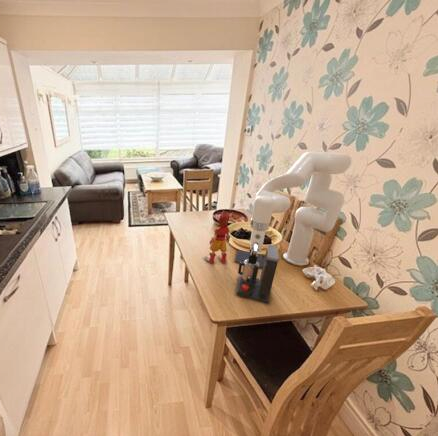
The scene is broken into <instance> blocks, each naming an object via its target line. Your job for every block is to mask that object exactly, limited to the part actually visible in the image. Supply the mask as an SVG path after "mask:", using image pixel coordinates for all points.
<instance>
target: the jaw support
mask: <svg viewBox="0 0 438 436" xmlns="http://www.w3.org/2000/svg"><path fill="white" fill-rule="evenodd" d="M326 270H327V269H326V268H323V267H320V266H318V265H316V264H314V265H313V266H310V267H306V268H303V269H301V271H302V272H303V274H304V275H305V276H306V277H307V278H312V279H315V280H313V282H312V283H311V284H310V285H311V287H313V288H314V289H315V290H316V291H318V288H319V287H320V288H321V289H322V290H324V291H326V290H327V289H329V288H330V287H333V286H334V285H335V284H336V279H334V278H333V276H332V274H329V273H328V272H327V271H326Z"/></svg>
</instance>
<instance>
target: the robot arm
mask: <svg viewBox="0 0 438 436" xmlns="http://www.w3.org/2000/svg"><path fill="white" fill-rule="evenodd" d="M351 165H352V157H351V156H350V155H349V154H347V153H338V152H332V151H331V152H330V151H322V150H315V151H314V150H311V151H307V152H306V151H305V152H304V153H303V154H301V156H300V157H299V158H298V159H297V160H296V162H295V163H294V164H293V165H292V167H291V168H289V170H288V171H287V172H286V173H284V174H280V175H277V176H276V177H274V178H271V179H270V180H268V181H266V182H265V183H264V184H263V185H262V187H260V188H259V190H258V191H257V193H256V194H255V197H254V202H253V208H252V213H251V218H250V222H249V227H250V228H251V234H250V241H249V251H248V252H251V254H250V256H249V260H248V263H252V264H256V261H257V257H258V256H257V254H259V253H261V252H262V251H263V245H264V241H265V236H266V231H268V230H269V228H270V226H271V220H272V215H273V214H281V213H286V212H287V211H288V210H289V209H290V207H291V203H292V202H291V199H290V198H289V197H288V196H286V195H283V194H279V193H277V192H276V191H279V190H282V189H291V188H299V187H302V186H304V184H306V183H307V181H308V180H310V181H309V184H308V186H307V190H306V193H305V195H304V202H305V204H307V205H309V206H301V207H299V208H298V209H296V211H295V214H294V227H293V230H292V234H291V238H290V241H289V244H288V245H289V246H288V248H287V252H284V253H283V254H282V257H283V259H284V260H285V261H286V262H287V263H289V264H291V265H295V266H302V267H303V266H308V265H309V263H310V260H309V258H308V256H309V255H308V254H309V251H310V249H311V245H312V242H313V239H314V236H315V231H314V229H315V230H318V231H321V232H325V233H327V232H331V231H332V230H333V229H334V227H335V225H336V223H337V220H338V217H339V215H340V212H341V210H342V209H343V208H342V207H343V205H344V202H345V201H344V200H345V196H344V194H343V193H342V192H340V191H338V190H333V189H330V187H331V183H332V181H333V175H341V174H343V173H346V172H347V171H348V170H349V169H350V167H351ZM311 206H312V207H311ZM314 207H316V208H314ZM318 208H320V209H321V210H320V209H318ZM324 210H325V211H324Z"/></svg>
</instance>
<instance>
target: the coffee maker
mask: <svg viewBox="0 0 438 436" xmlns="http://www.w3.org/2000/svg"><path fill="white" fill-rule="evenodd" d="M257 280H258V281H257V283H256V284H253V285H251V284H246V283H244V282H243V281H241V279H240V277H239V278H238V285H237V291H236V296H238V297H241V298H245V299H249V300H253V301H257V302H259V303H260V302H261V303H263V304H267V305H268V304H269V295H265V294H261V293H259V289H260V278H257ZM243 284H246V285H248V286H249V290H248V291H243V290H242V285H243Z"/></svg>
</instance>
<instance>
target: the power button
mask: <svg viewBox="0 0 438 436" xmlns="http://www.w3.org/2000/svg"><path fill="white" fill-rule="evenodd" d="M242 290H243V291H248V290H249V286H248V285H246V284H243V285H242Z"/></svg>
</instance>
